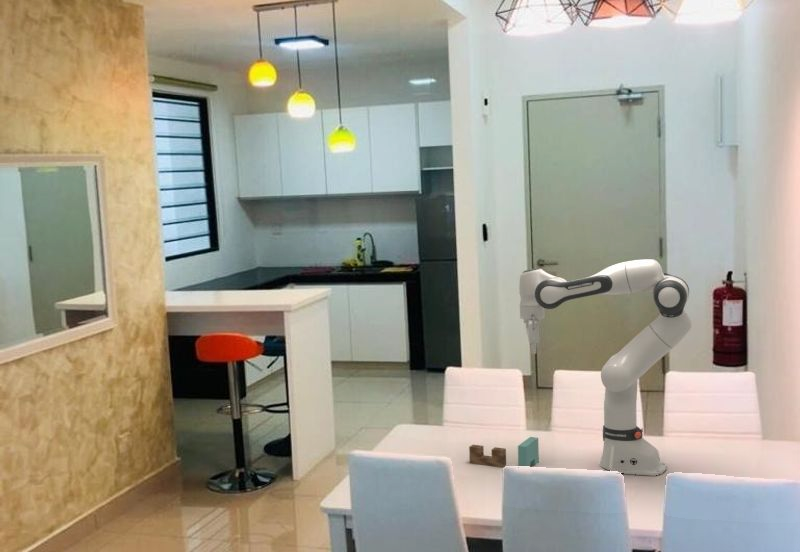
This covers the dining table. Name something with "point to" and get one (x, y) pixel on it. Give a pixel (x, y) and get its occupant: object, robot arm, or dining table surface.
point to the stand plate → (479, 457)
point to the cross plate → (528, 452)
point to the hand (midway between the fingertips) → (533, 351)
